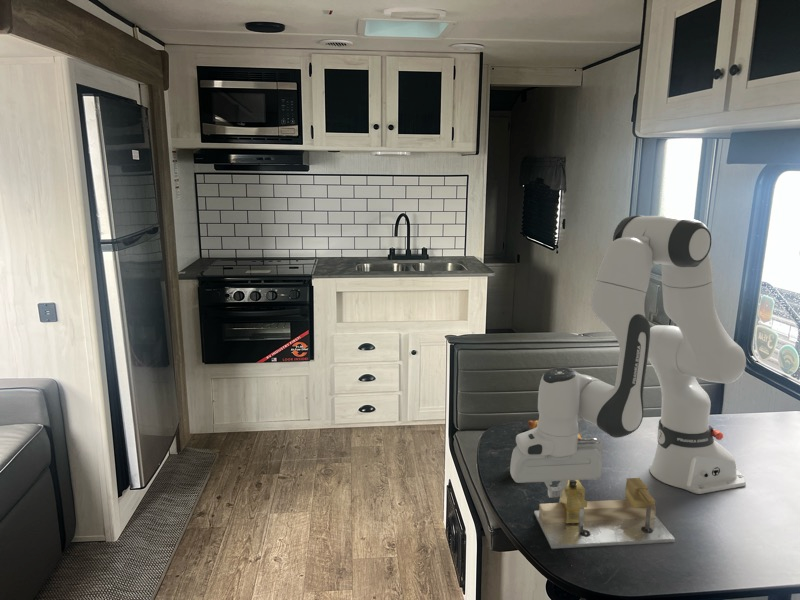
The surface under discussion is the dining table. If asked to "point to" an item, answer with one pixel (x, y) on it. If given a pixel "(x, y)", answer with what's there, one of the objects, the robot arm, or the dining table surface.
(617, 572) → the dining table surface
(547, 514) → the trammel beam
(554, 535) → the flange plate
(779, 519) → the dining table surface
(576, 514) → the sliding leg
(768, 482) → the dining table surface
